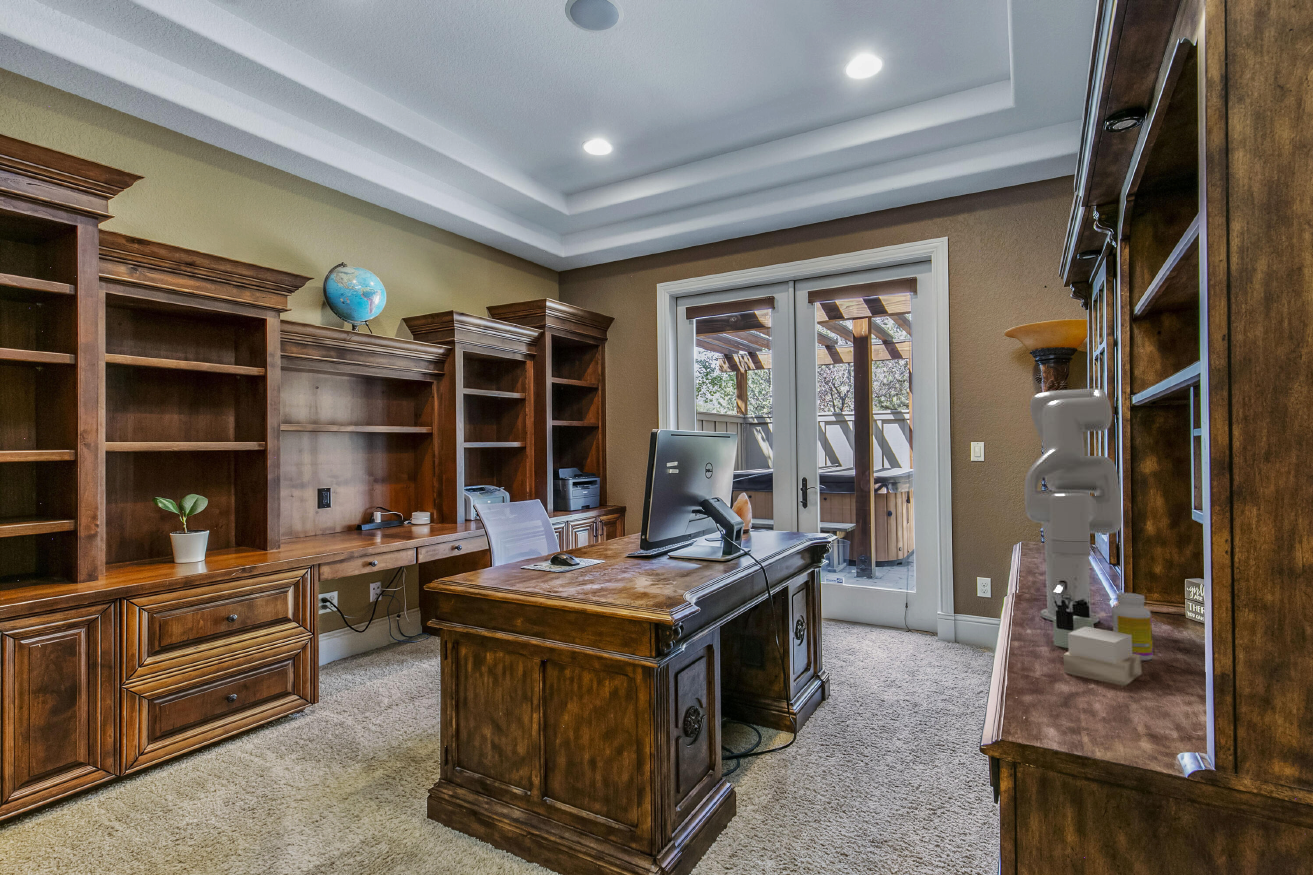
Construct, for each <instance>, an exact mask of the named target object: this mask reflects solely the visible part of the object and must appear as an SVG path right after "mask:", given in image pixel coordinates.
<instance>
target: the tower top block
mask: <svg viewBox="0 0 1313 875" xmlns="http://www.w3.org/2000/svg"><path fill="white" fill-rule="evenodd" d="M1068 647H1069V648H1068V652H1069V654H1071V655H1076V656H1080V657H1085V658H1090V659H1094V660H1099V661H1103V662H1108V663H1113V664H1117V663H1119V662H1121V661H1123V660H1125V659H1127V658H1129V657H1131V656H1132V635H1130V634H1124V633H1119V632H1113V630H1107V629H1101V628H1097V627H1096V628H1095V627H1094V628H1091V627H1086V626H1085V627H1083V628H1080V629H1078V630H1076V631H1073V632H1071V633H1068Z"/></svg>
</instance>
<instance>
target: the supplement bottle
mask: <svg viewBox="0 0 1313 875" xmlns="http://www.w3.org/2000/svg"><path fill="white" fill-rule="evenodd" d="M1145 598H1146V597H1145V595H1143V594H1138V593H1135V592H1133V593H1132V592H1118V593H1117V594H1116V600H1117V602H1118V604H1116V605H1115V606H1113V607H1112V610H1111V611H1112V613H1111V614H1112V631H1113V632H1119V633H1124V634H1130V635H1132V653H1133V654H1138V655H1141V662H1143V661H1151V660H1152V659H1153V658H1154V650H1153V649H1154V647H1153V628H1152V626H1153V625H1152V612H1151V610H1149V609H1148V608H1147V607H1146V606H1145V607H1144V604H1145V602H1146V599H1145Z"/></svg>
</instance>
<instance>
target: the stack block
mask: <svg viewBox="0 0 1313 875" xmlns="http://www.w3.org/2000/svg"><path fill="white" fill-rule="evenodd" d="M1073 623H1074V630H1072V631H1070V630H1064V629H1058V628H1057V627H1056V618H1053V621H1052V625H1053V626H1052V630H1053V646H1054V647H1055V646H1056V647H1061V648H1066V649H1069V647H1068V633H1071V632H1073V631H1076V630H1078V629H1080V628H1083V627H1085V626H1086V627H1091V628H1095V626H1094V624H1095V623H1093V619H1091V618H1085V617H1079V616H1073Z"/></svg>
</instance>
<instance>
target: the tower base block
mask: <svg viewBox="0 0 1313 875" xmlns="http://www.w3.org/2000/svg"><path fill="white" fill-rule="evenodd" d="M1142 672H1143V671H1142V661H1141V655H1138V654H1133V653H1132V656H1131V657H1129V658H1127V659H1125V660H1123V661H1121V662H1119V663H1117V664H1113V663H1108V662H1103V661H1099V660H1094V659H1090V658H1085V657H1080V656H1076V655H1071V654H1069V651H1067V652H1065V653H1064V654H1063V673H1064V674H1068V675H1073V676H1078V677H1082V678H1086V679H1090V680H1095V681H1099V682H1104V683H1108V684H1109V683H1110V684H1114V685H1118V686H1121V687H1125V686H1127V685H1128V684H1129V683H1131V682H1132V681H1134V680H1135V679H1136V678H1138V677H1139V676H1141V675H1142V674H1143V673H1142Z"/></svg>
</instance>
